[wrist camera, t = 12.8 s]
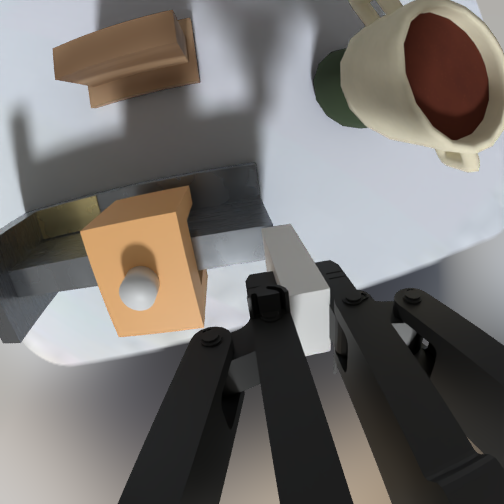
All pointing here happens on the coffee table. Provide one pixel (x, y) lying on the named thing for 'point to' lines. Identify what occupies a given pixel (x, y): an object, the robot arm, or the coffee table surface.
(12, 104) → the coffee table surface
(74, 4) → the coffee table surface
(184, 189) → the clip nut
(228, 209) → the rail
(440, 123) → the character mug
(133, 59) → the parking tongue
